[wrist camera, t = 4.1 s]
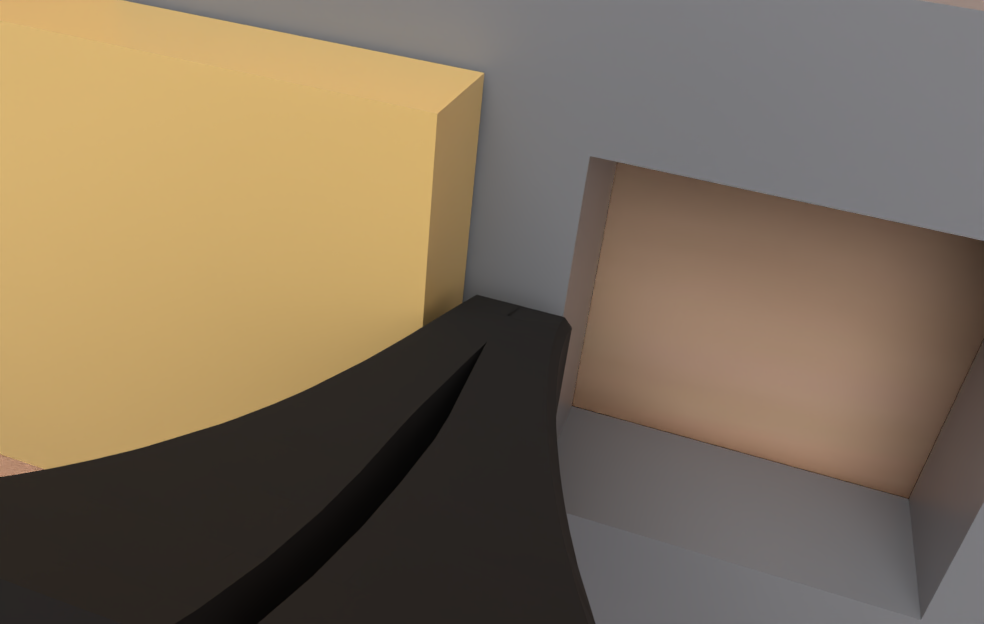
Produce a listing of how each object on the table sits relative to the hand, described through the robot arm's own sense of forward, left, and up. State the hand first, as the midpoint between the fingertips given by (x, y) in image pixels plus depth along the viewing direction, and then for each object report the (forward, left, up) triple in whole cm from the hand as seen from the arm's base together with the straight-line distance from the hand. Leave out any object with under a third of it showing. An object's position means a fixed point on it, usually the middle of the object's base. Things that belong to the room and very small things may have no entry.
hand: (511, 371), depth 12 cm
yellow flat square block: (0, +4, -1) cm, 4 cm away
